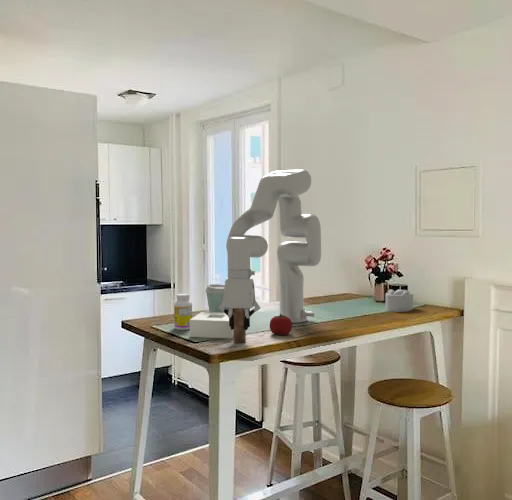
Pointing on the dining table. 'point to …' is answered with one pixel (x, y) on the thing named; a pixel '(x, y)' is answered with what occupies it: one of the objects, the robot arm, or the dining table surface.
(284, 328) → the tomato
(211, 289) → the disposable coffee cup
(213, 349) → the dining table surface
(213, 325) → the block
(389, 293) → the lumpy-topped squat cylinder
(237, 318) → the brown wooden block
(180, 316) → the supplement bottle
